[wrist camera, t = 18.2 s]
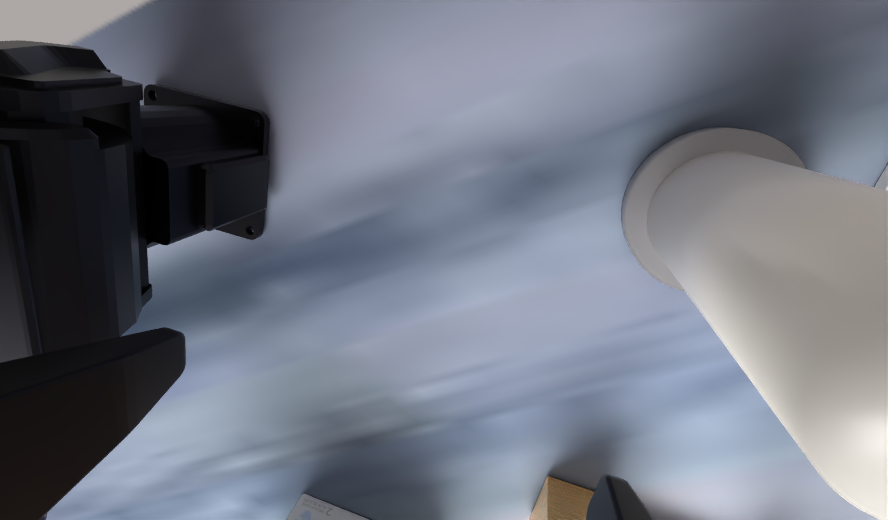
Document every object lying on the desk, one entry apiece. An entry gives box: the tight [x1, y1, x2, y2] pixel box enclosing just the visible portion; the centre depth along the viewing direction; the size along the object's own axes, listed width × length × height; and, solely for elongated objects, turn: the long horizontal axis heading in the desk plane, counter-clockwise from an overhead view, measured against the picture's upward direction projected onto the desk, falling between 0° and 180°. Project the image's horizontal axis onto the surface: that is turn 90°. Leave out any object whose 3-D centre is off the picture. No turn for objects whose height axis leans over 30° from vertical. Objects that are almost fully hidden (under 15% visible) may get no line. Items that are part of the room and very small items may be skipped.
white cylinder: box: [621, 127, 888, 520], centre depth 12 cm, size 7×7×13 cm
